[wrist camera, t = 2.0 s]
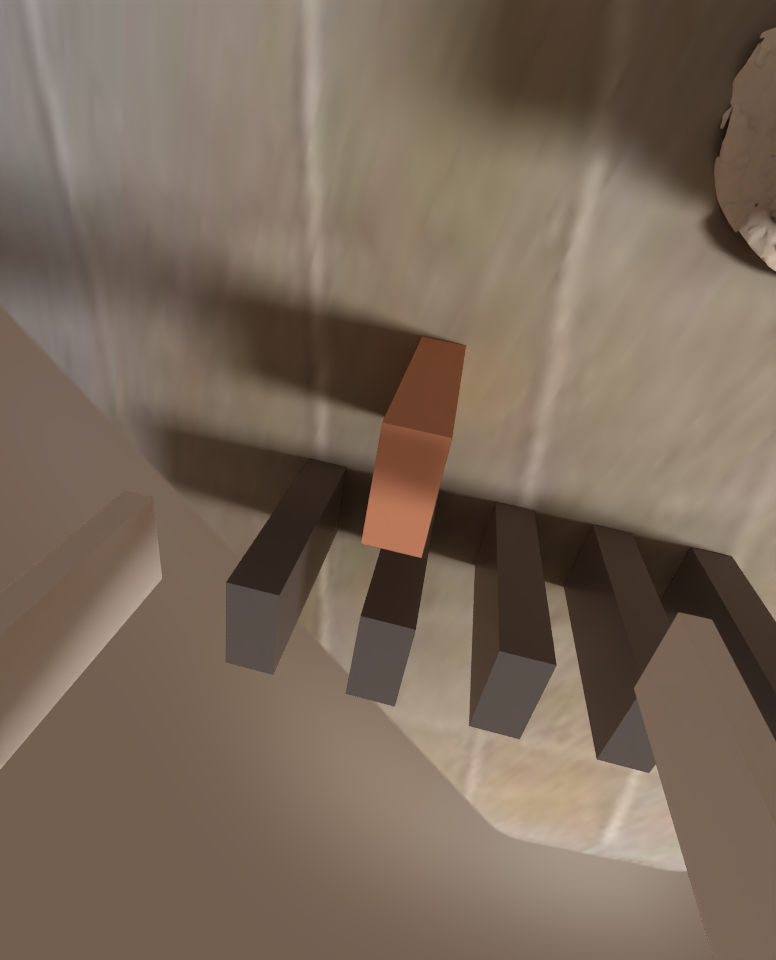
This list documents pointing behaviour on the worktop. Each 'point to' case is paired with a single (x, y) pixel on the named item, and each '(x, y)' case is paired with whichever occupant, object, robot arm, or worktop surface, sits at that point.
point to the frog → (751, 152)
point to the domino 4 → (509, 625)
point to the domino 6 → (730, 620)
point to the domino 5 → (614, 641)
